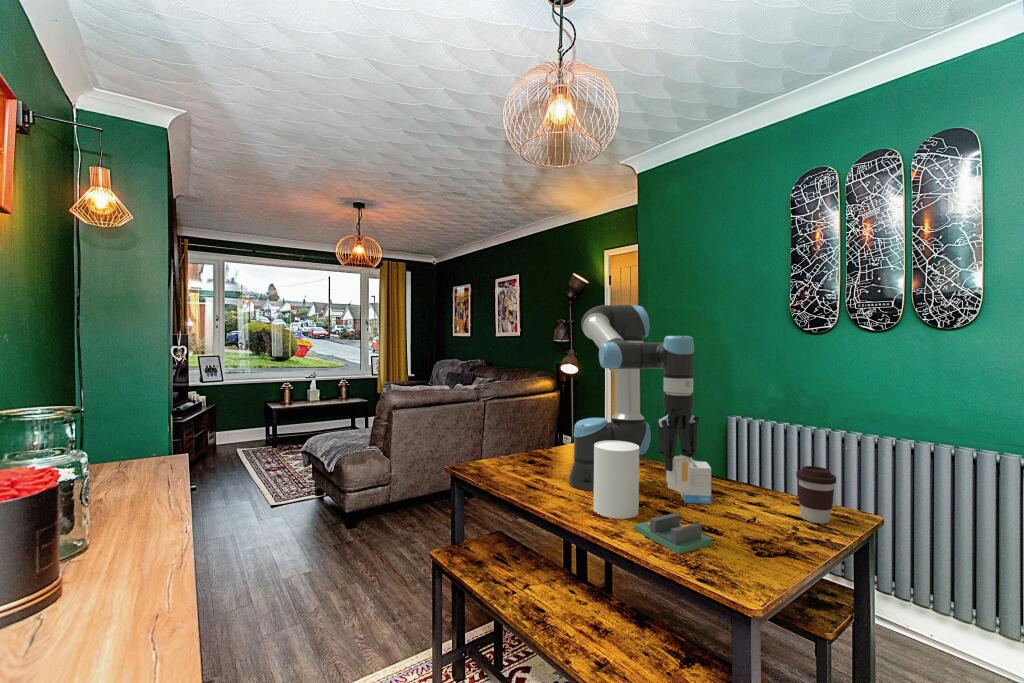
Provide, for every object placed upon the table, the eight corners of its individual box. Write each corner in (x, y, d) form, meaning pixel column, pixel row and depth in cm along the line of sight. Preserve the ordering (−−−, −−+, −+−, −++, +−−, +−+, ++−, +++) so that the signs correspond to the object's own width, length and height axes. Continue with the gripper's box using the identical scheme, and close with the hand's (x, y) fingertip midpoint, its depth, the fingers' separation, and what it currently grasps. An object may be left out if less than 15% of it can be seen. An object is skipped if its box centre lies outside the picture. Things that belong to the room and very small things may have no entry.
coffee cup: (822, 528, 133) (823, 475, 133) (788, 516, 142) (789, 466, 142) (842, 522, 138) (843, 471, 138) (808, 511, 147) (809, 462, 146)
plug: (667, 487, 127) (667, 457, 127) (678, 485, 129) (678, 456, 129) (679, 491, 123) (679, 461, 123) (690, 489, 125) (690, 459, 125)
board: (634, 529, 132) (634, 510, 132) (666, 522, 137) (666, 503, 137) (679, 554, 117) (679, 532, 117) (712, 544, 123) (713, 523, 123)
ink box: (711, 504, 152) (712, 463, 151) (684, 502, 153) (684, 461, 153) (706, 495, 160) (706, 456, 160) (680, 493, 162) (680, 454, 161)
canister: (584, 507, 149) (585, 443, 148) (616, 499, 156) (617, 438, 155) (614, 522, 137) (615, 453, 137) (648, 513, 144) (648, 447, 144)
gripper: (665, 396, 119) (664, 490, 119) (712, 393, 127) (711, 480, 127) (644, 393, 126) (643, 482, 126) (689, 390, 134) (689, 473, 134)
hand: (677, 481), depth 126 cm, fingers closed on plug, 4 cm apart
